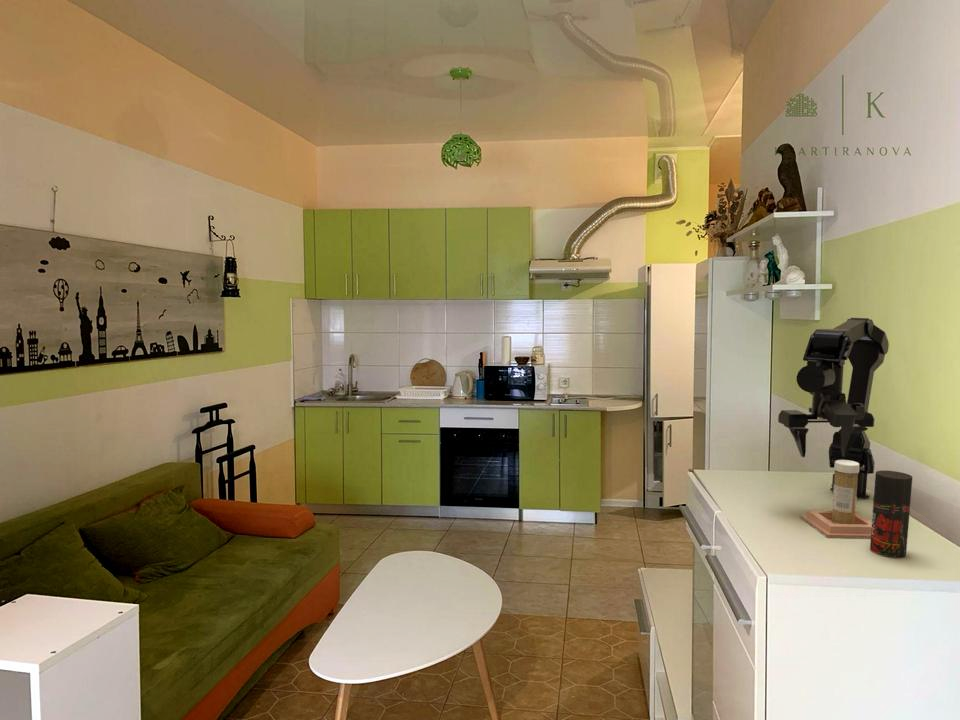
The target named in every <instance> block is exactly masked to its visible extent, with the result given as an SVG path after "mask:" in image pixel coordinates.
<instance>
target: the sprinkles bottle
mask: <svg viewBox="0 0 960 720" xmlns="http://www.w3.org/2000/svg"><path fill="white" fill-rule="evenodd" d="M858 473H859V463H857V462H855V461H850V460H836V461H835V464H834V474H835V479H834V489H833V491H832V510H831V511H832V520H831V522H832V523H834V524H855V512H856V511H857V501H858V498H857V496H856V495H857V480H858Z"/></svg>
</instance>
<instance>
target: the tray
mask: <svg viewBox="0 0 960 720" xmlns="http://www.w3.org/2000/svg"><path fill="white" fill-rule="evenodd" d="M806 512H807V513H806V514H800V516H799V518H800V517H801V518H802V519H801V518H800V519H801V520H803V519H804V520H805V521H807V522H808V523H810V524H811V525H812V526H814V527H815V528H816V529H817V530H816V529H815V528H814V527H813V528H814V529H815V530H816V531H817V532H819V531H820V532H821V533H820V532H819V533H820V534H821V535H823V534H824V535H825V536H824V535H823V536H824V537H826V538H827V537H830V538H829V539H831V538H832V539H871V528H872V520H870V519H868V518H866V517H864V516H863V515H861V514H860V513H858V512H855V524H834V523H832V522H831V520H832V510H820V509H819V510H815V509H814V510H813V509H812V510H809V509H808V510H807V511H806ZM804 520H803V521H804ZM805 521H804V522H805ZM807 522H806V523H807ZM808 523H807V524H808ZM810 524H809V525H810ZM811 525H810V526H811ZM812 526H811V527H812Z"/></svg>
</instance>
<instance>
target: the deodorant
mask: <svg viewBox="0 0 960 720" xmlns="http://www.w3.org/2000/svg"><path fill="white" fill-rule="evenodd" d="M874 478H875V481H874V492H873V505H872V518H871V522H872V528H871V538H870V543H869V550H870V551H871V552H872V553H873V554H876V555H879V556H882V557H886V558H892V559H902V558H906V556H907V549H908V548H907V547H908V538H909V537H908V535H909V524H910V523H909V521H910V512H911V509H910V508H911V502H912V501H911V499H912V487H913V476H912V475H910V474H908V473H905V472H901V471H900V472H899V471H894V470H877V471H876V472H875V477H874Z"/></svg>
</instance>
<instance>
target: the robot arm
mask: <svg viewBox="0 0 960 720" xmlns="http://www.w3.org/2000/svg"><path fill="white" fill-rule="evenodd" d="M889 344H890V343H889V340H888V337H887V334H886V332H885V331H884V330H882V329H881V328H880V327H878V326H877V325H875V323H874V321H873V319H871V318H869V317H868V318H867V317H851V318H847V320H846V321H845V322H843V323H841V324H839V325H837V326H835V327H833V328H820V329H819V328H817V329H815V330H814V331H813V333H812V334H811V335H810V337H809V339H808V343H807V345H806V348H805V351H804V354H803V358H802V361H804V362H806V365H805V366H803V367H801V368H800V369H799V370H798V372H797V374H796V383H797V385H798V387H799V388H800V389H801V390H802V391H804V392H806V393H809V395H811V397H812V400H811V407H808V413H809V414H808V413H805V412H802V411H800V410H797V409H795V410H794V409H788V410H786V409H783V410H781V411H780V412H779V414H778V418H777V419H778V421H777V422H778V423H779V424H782V425H783V426H784V427H785V428H787V429H789V431H790V433H791V435H792V437H793V439H794V441H795V445H796V447H797V449H798V452H799V455H800V457H802V458H805V457H806V451H807V434H808V432H809V428H807V427H806V426H808V424H810V423H811V424H812V423H814V424H815V423H816V424H817V423H827V424H828V423H829V425H830V426H831V427H833V428H840V429H839V430H838V431H835V432H834V433H833V435H832V442H831V444H830V445H829V447H828V459H829V468H832V469H833V468H834V464H835V461H836V460H850V461H855V462H857V463H859V473H858V480H857V495H856V496H857V499H858V498H859V499H860V498H862V499H863V498H864V499H867V498H868V499H870V497H871V496H870V495H869V494H867V484H868V475H869V474H872V475H873V474H875V464H876V463H875V459H874V456H873V454H872V450H871V449H870V448H871V441H870V439H869V437H868V435H867V433H866V431H868V429H869V428H873V427H875V417H874V414H872V413H871V412H869V411H868V410H869V405H870V399H871V393H872V387H873V380H874V375H875V371H876V370H877V369H879V367H880V366H882V365H883V363H884V361H885V356H886V355H887V354H888V353H889V347H890V345H889ZM847 360H849V362H850V365H851V367H852V369H851V370H852V371H851V377H850V382H849V389H848V393H847V394H848V395H847V398H846V393H844V392H843V382H844V368H845V367H844V366H845V364H846V361H847ZM846 399H847V400H846ZM834 479H835V473H833V474H832V484H831V487H830V489H829V490H830V491H832V492H833V489H834Z"/></svg>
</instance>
